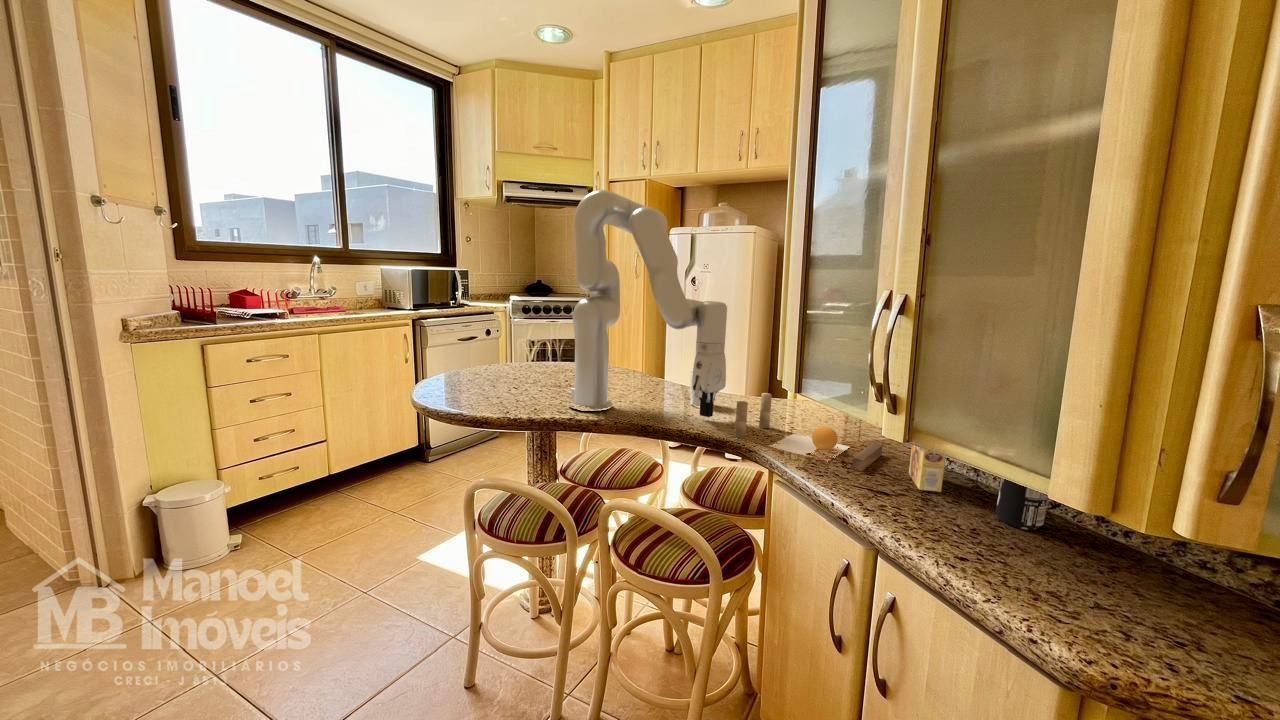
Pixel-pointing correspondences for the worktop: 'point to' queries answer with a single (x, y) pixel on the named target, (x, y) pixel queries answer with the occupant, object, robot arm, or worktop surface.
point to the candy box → (926, 469)
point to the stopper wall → (867, 456)
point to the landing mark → (803, 445)
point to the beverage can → (1020, 506)
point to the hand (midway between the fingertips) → (706, 415)
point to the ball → (824, 438)
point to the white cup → (693, 399)
